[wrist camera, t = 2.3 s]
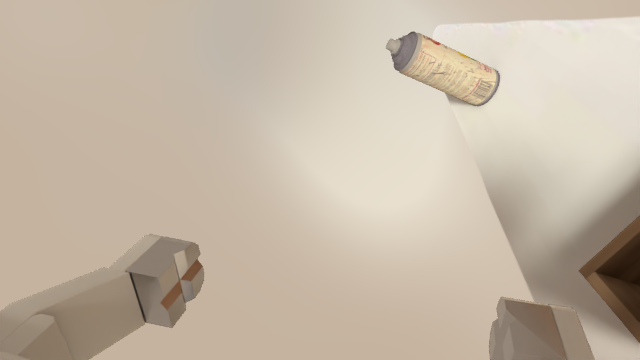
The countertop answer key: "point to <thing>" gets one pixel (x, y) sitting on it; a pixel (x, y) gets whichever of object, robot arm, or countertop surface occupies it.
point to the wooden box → (619, 276)
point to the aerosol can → (443, 68)
